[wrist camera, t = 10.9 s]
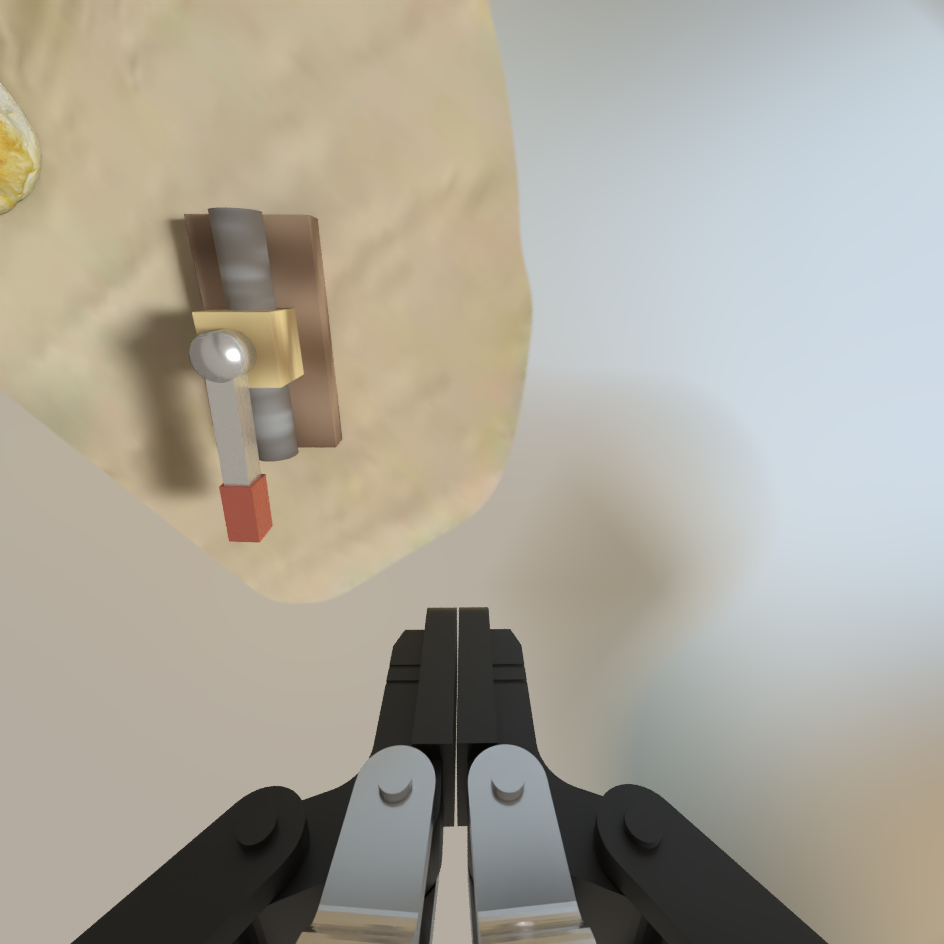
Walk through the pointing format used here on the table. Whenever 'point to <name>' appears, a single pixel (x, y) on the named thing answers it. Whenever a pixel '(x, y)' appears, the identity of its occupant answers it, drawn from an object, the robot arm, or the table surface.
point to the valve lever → (234, 430)
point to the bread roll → (16, 153)
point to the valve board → (287, 291)
